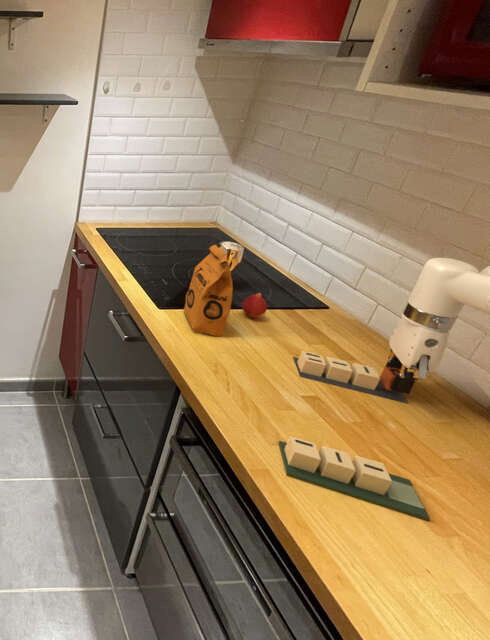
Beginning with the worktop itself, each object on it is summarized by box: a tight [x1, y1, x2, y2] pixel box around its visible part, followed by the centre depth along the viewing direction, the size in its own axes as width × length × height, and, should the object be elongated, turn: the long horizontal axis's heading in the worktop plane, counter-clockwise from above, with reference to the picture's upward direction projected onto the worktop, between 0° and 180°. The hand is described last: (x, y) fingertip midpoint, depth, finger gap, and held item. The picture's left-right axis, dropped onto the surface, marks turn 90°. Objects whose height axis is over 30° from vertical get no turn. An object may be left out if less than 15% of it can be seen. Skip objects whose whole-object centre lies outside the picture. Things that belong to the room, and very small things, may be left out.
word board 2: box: [277, 435, 431, 522], centre depth 80 cm, size 20×8×4 cm, turn 65°
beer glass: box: [218, 240, 245, 279], centre depth 140 cm, size 7×7×15 cm
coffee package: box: [183, 244, 234, 337], centre depth 120 cm, size 10×12×22 cm
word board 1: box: [292, 350, 410, 405], centre depth 104 cm, size 20×8×4 cm, turn 65°
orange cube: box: [379, 365, 415, 395], centre depth 100 cm, size 4×4×4 cm
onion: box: [241, 292, 268, 319], centre depth 127 cm, size 6×6×8 cm
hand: (394, 383), depth 100 cm, fingers closed on orange cube, 4 cm apart
